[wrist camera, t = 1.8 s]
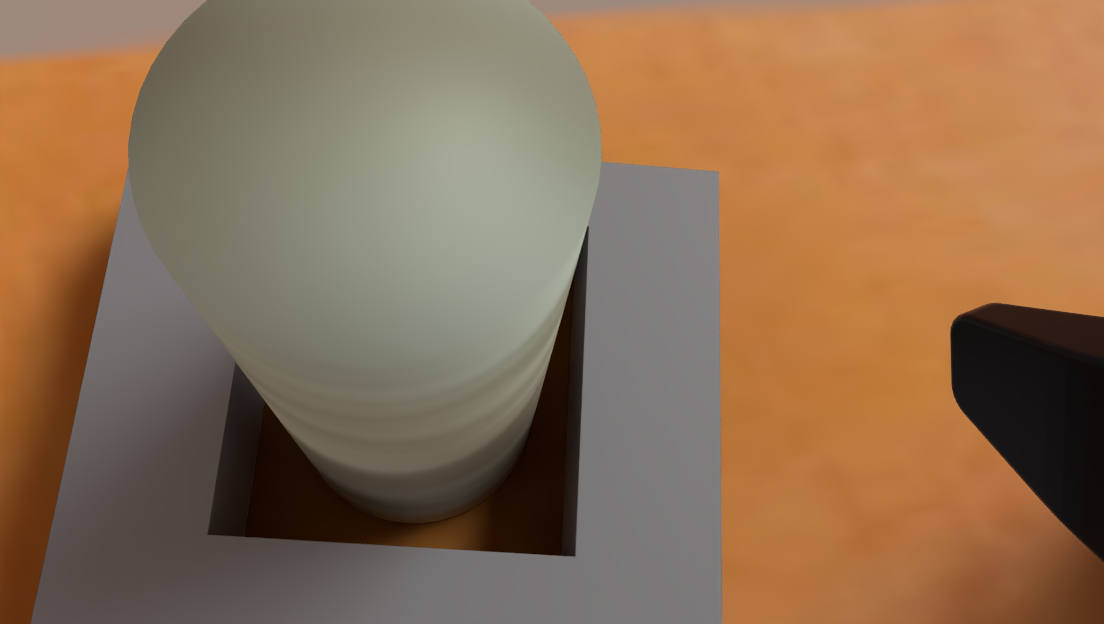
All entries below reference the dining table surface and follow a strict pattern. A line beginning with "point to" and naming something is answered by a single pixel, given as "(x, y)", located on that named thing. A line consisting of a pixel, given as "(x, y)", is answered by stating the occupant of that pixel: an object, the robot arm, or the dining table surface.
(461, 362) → the peg
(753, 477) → the dining table surface
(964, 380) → the robot arm
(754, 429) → the dining table surface
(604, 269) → the pocket board
